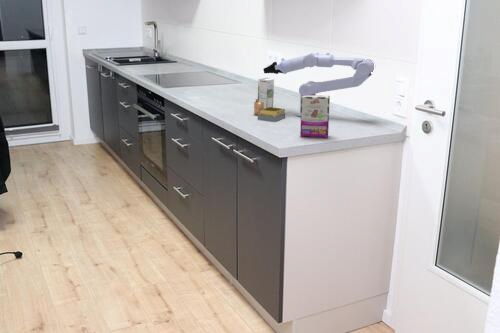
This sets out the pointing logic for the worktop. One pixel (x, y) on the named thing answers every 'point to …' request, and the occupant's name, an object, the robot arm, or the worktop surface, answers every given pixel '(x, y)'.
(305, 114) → the candy bar box
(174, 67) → the worktop surface
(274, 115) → the square open tray
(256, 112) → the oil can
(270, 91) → the syrup box
